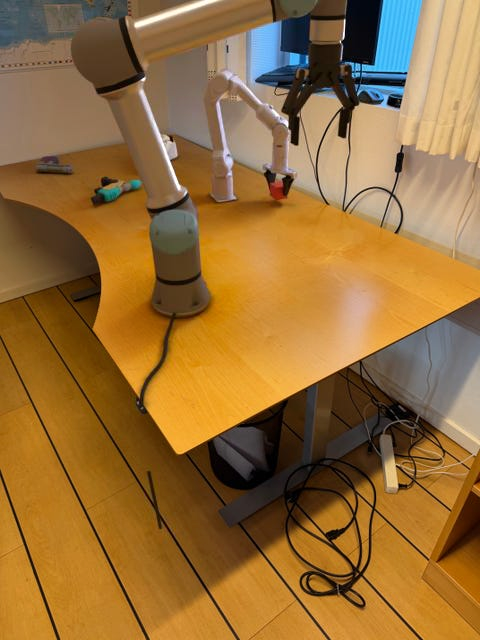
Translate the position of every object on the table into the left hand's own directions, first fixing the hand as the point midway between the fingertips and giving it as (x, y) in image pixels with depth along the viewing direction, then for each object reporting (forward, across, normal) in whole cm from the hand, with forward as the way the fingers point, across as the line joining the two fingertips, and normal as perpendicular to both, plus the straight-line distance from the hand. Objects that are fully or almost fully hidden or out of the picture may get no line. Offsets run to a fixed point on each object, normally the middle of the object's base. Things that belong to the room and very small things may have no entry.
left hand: (318, 140), depth 118 cm
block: (+34, -15, -49) cm, 61 cm away
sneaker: (+36, +14, -112) cm, 118 cm away
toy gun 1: (+36, +57, -124) cm, 141 cm away
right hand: (+33, -15, -49) cm, 61 cm away
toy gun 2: (+36, +42, -83) cm, 100 cm away
